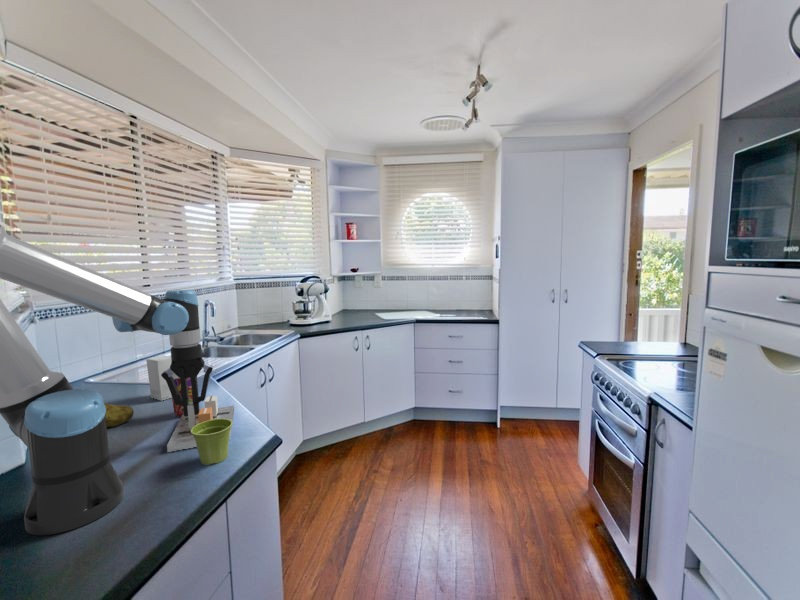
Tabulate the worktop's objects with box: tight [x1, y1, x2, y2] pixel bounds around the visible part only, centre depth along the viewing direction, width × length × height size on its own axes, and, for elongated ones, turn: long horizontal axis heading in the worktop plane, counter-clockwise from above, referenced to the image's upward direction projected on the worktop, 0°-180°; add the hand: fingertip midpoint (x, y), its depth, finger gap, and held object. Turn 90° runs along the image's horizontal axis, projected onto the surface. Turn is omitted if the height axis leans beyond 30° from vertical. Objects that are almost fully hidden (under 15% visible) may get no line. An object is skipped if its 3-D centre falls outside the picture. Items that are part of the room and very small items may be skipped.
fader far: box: [204, 395, 219, 416], centre depth 118 cm, size 3×5×5 cm, turn 21°
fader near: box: [198, 407, 213, 423], centre depth 108 cm, size 3×5×5 cm, turn 21°
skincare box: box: [146, 355, 172, 402], centre depth 142 cm, size 8×7×16 cm
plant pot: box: [191, 419, 233, 466], centre depth 94 cm, size 9×9×9 cm
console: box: [166, 405, 235, 453], centre depth 112 cm, size 15×24×2 cm, turn 21°
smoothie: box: [171, 371, 193, 418], centre depth 125 cm, size 8×8×20 cm
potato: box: [104, 402, 135, 428], centre depth 117 cm, size 8×13×8 cm, turn 131°
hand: (192, 425), depth 107 cm, fingers closed
